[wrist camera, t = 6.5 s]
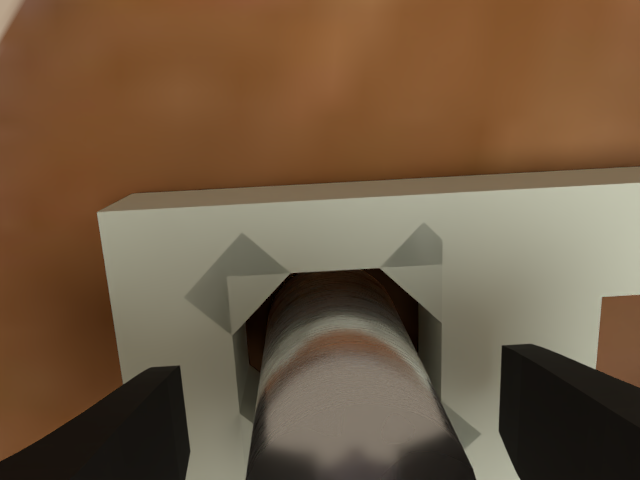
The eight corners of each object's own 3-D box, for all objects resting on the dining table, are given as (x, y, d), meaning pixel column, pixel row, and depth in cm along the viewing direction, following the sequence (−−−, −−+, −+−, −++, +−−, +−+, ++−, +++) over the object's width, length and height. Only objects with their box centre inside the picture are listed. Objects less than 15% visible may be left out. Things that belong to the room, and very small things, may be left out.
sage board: (761, 451, 16) (841, 511, 14) (172, 491, 16) (150, 560, 14) (813, 157, 14) (918, 167, 12) (132, 193, 14) (96, 212, 11)
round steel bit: (394, 382, 15) (470, 601, 9) (269, 385, 15) (246, 609, 8) (398, 263, 15) (486, 400, 8) (265, 265, 14) (236, 408, 8)
